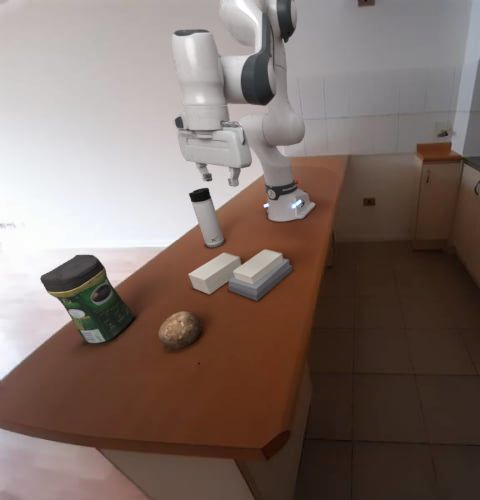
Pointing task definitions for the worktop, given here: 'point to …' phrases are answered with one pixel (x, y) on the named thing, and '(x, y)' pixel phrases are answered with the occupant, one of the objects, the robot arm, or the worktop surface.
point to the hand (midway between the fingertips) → (220, 183)
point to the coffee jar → (88, 298)
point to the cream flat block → (258, 266)
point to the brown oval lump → (179, 330)
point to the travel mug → (207, 217)
